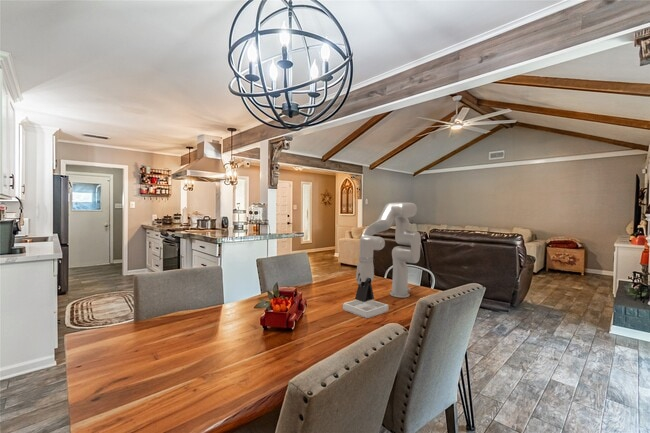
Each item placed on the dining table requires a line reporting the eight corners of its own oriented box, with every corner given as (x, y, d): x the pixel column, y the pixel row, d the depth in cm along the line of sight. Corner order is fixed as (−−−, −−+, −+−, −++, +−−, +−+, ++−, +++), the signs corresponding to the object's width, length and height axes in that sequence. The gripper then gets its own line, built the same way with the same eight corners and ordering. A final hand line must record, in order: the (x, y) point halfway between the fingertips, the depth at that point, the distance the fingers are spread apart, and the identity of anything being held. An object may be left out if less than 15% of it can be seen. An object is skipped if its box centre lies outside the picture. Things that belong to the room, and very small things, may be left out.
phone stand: (363, 302, 158) (364, 279, 158) (354, 299, 162) (355, 277, 162) (374, 299, 164) (375, 277, 164) (365, 296, 168) (366, 275, 168)
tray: (364, 303, 176) (364, 297, 176) (388, 311, 164) (388, 304, 164) (342, 309, 164) (343, 303, 164) (366, 318, 152) (367, 312, 152)
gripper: (369, 257, 171) (368, 290, 171) (351, 260, 160) (349, 294, 161) (380, 259, 165) (379, 293, 166) (361, 262, 155) (360, 298, 155)
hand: (364, 293), depth 163 cm, fingers closed on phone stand, 1 cm apart
